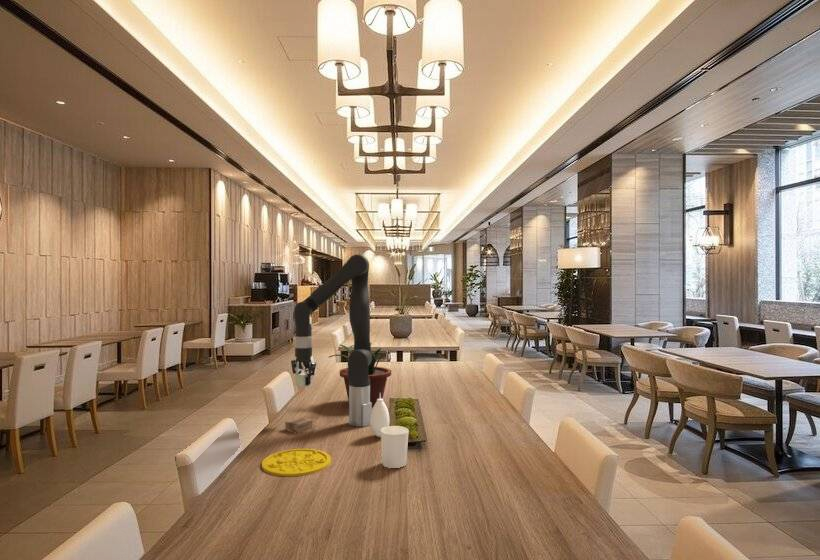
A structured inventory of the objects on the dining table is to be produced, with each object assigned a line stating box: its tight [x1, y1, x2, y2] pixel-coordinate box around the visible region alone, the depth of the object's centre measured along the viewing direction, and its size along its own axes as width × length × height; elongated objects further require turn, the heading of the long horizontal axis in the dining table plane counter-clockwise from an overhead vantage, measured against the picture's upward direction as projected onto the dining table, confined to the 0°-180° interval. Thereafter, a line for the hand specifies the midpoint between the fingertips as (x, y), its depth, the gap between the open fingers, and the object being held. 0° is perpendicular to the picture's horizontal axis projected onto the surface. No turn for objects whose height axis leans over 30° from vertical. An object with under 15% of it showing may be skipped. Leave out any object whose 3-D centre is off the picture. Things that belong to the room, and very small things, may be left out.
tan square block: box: [284, 416, 314, 434], centre depth 207 cm, size 8×8×4 cm
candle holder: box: [380, 425, 410, 469], centre depth 168 cm, size 10×10×12 cm
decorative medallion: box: [261, 448, 332, 477], centre depth 169 cm, size 24×24×2 cm
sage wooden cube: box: [294, 372, 312, 388], centre depth 216 cm, size 5×5×5 cm
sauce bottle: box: [369, 394, 390, 438], centre depth 198 cm, size 8×8×18 cm
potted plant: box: [328, 342, 392, 409], centre depth 249 cm, size 35×32×30 cm
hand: (303, 384), depth 216 cm, fingers closed on sage wooden cube, 5 cm apart
